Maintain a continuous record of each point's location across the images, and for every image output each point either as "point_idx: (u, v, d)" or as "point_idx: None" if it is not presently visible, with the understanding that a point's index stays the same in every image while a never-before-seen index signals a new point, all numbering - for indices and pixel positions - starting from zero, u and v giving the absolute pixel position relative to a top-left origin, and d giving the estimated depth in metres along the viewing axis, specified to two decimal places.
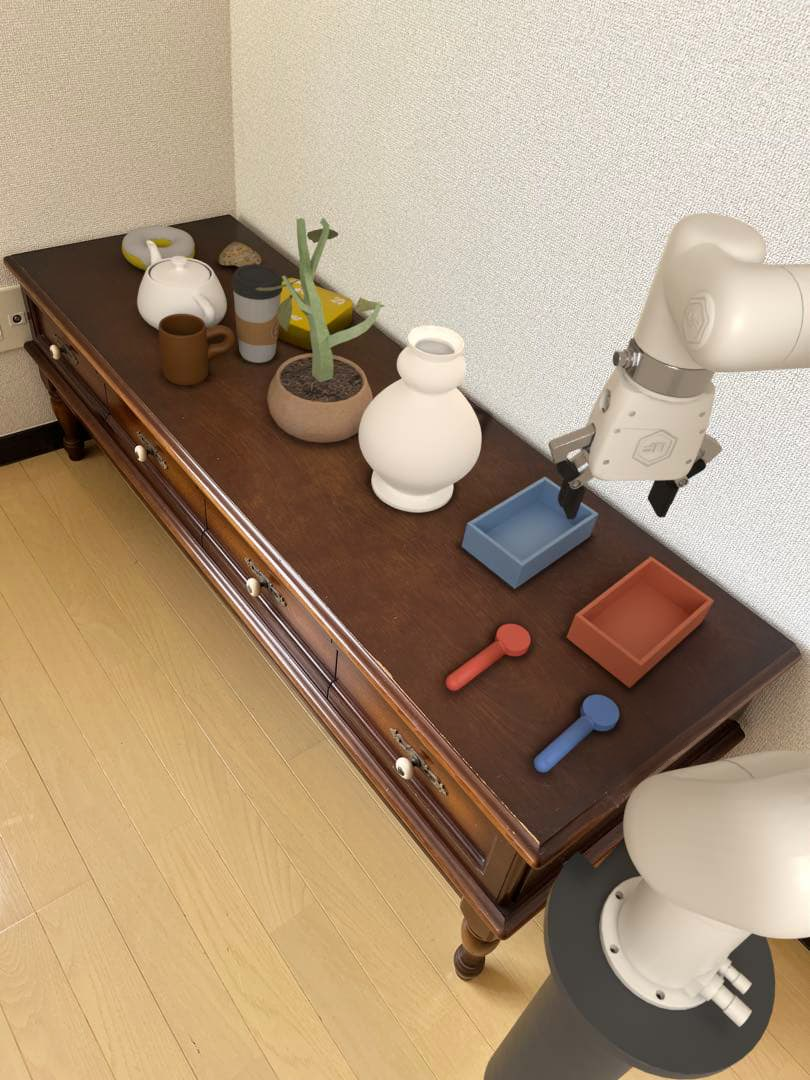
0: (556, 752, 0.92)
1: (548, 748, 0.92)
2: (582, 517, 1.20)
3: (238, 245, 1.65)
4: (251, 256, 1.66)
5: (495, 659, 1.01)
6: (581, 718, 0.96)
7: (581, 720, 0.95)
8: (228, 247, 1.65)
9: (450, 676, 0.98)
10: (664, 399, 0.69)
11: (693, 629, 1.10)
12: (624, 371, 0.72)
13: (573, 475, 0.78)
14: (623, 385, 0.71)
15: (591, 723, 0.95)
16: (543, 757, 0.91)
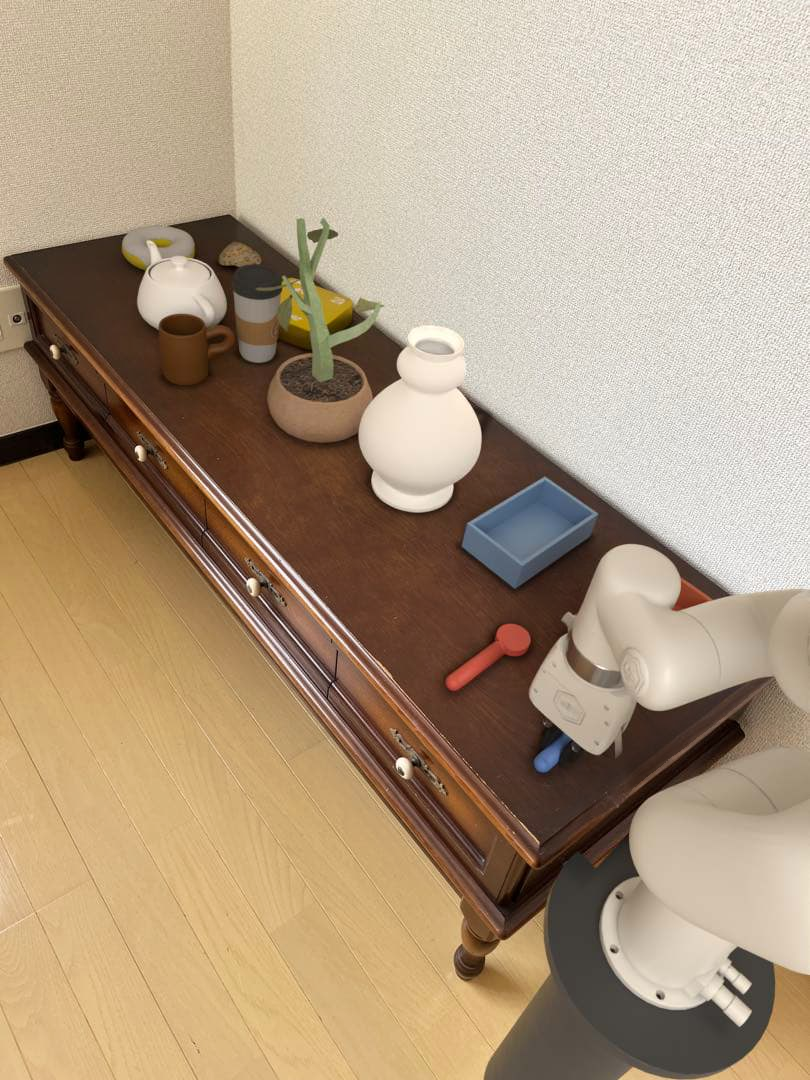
0: (556, 752, 0.92)
1: (548, 748, 0.92)
2: (582, 517, 1.20)
3: (237, 245, 1.65)
4: (251, 256, 1.66)
5: (495, 659, 1.01)
6: None
7: None
8: (228, 247, 1.65)
9: (450, 676, 0.98)
10: (568, 668, 0.81)
11: None
12: None
13: None
14: (559, 639, 0.83)
15: None
16: (543, 757, 0.91)
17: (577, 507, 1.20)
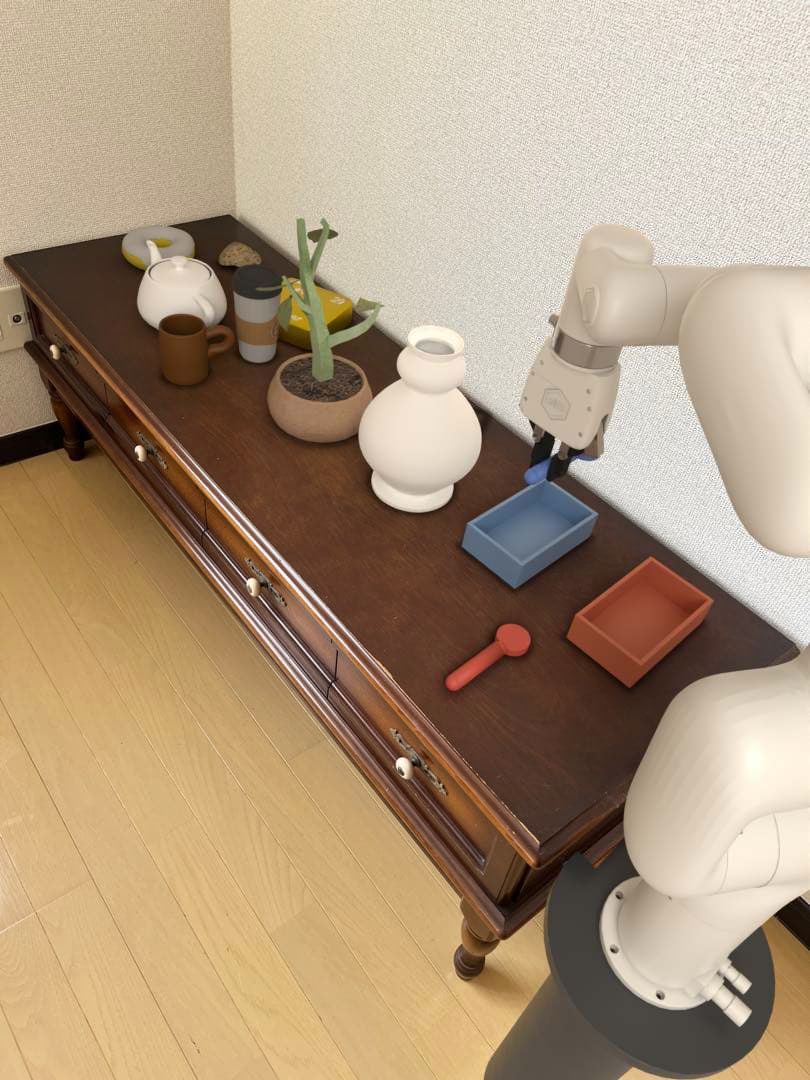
0: (545, 467, 1.01)
1: (537, 464, 1.01)
2: (582, 517, 1.20)
3: (238, 245, 1.65)
4: (251, 256, 1.66)
5: (495, 659, 1.01)
6: None
7: None
8: (228, 247, 1.65)
9: (450, 676, 0.98)
10: (554, 356, 0.89)
11: (693, 629, 1.10)
12: None
13: None
14: (547, 339, 0.92)
15: None
16: (532, 469, 1.00)
17: (577, 507, 1.20)
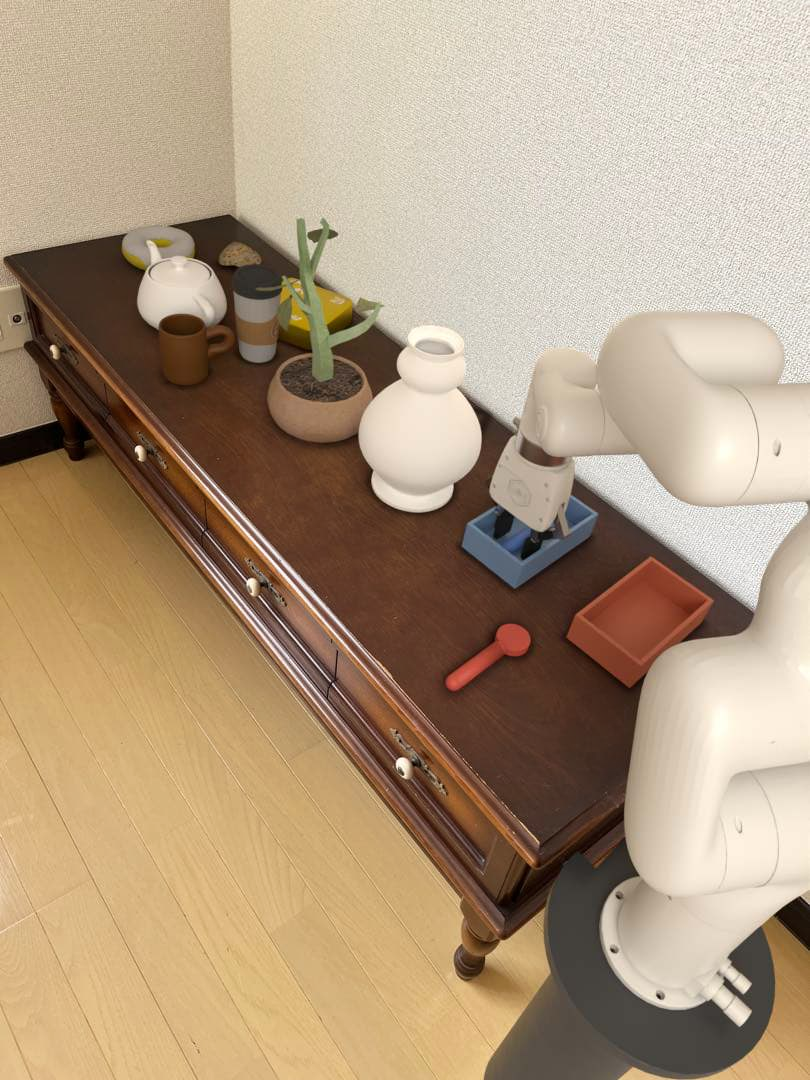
0: (512, 543, 1.14)
1: (506, 541, 1.15)
2: (582, 517, 1.20)
3: (238, 245, 1.65)
4: (251, 256, 1.66)
5: (495, 659, 1.01)
6: None
7: None
8: (228, 247, 1.65)
9: (450, 676, 0.98)
10: (517, 454, 1.03)
11: (693, 629, 1.10)
12: None
13: None
14: (511, 437, 1.06)
15: None
16: None
17: (577, 507, 1.20)
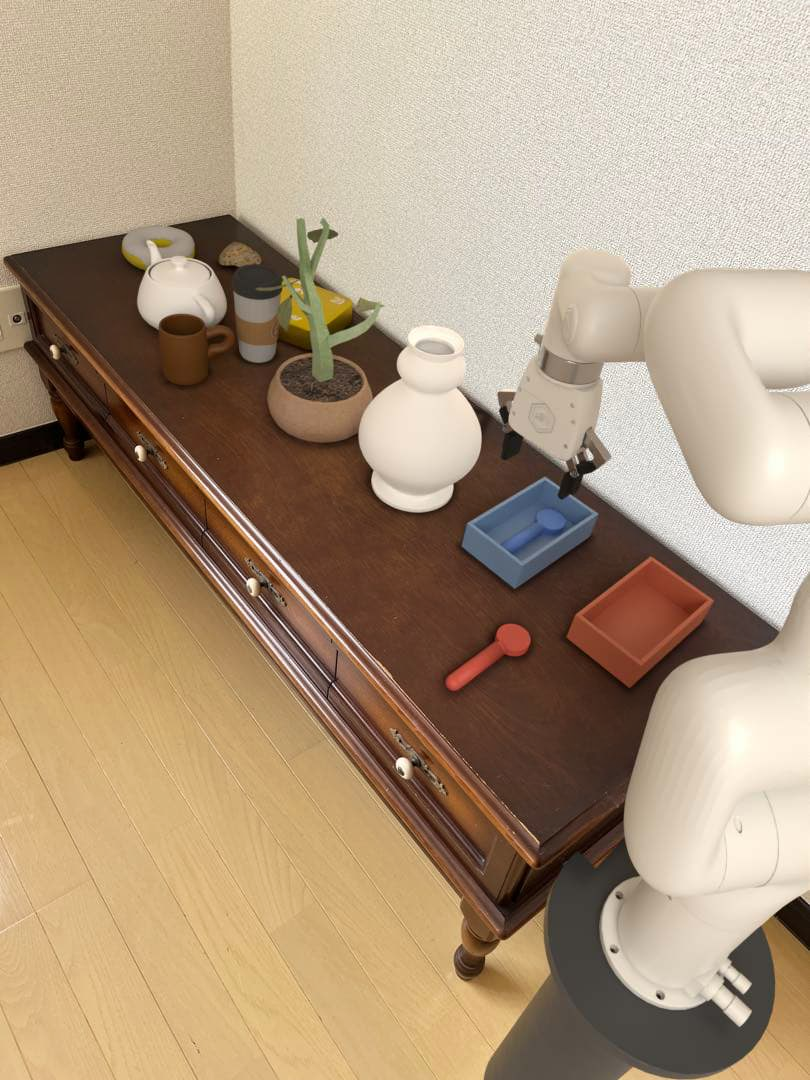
0: (512, 543, 1.14)
1: (506, 541, 1.15)
2: (582, 517, 1.20)
3: (238, 245, 1.65)
4: (251, 256, 1.66)
5: (495, 659, 1.01)
6: (534, 523, 1.18)
7: (534, 524, 1.18)
8: (228, 247, 1.65)
9: (450, 676, 0.98)
10: (540, 372, 0.95)
11: (693, 629, 1.10)
12: None
13: (508, 422, 1.05)
14: (533, 357, 0.97)
15: (542, 526, 1.18)
16: None
17: (577, 507, 1.20)
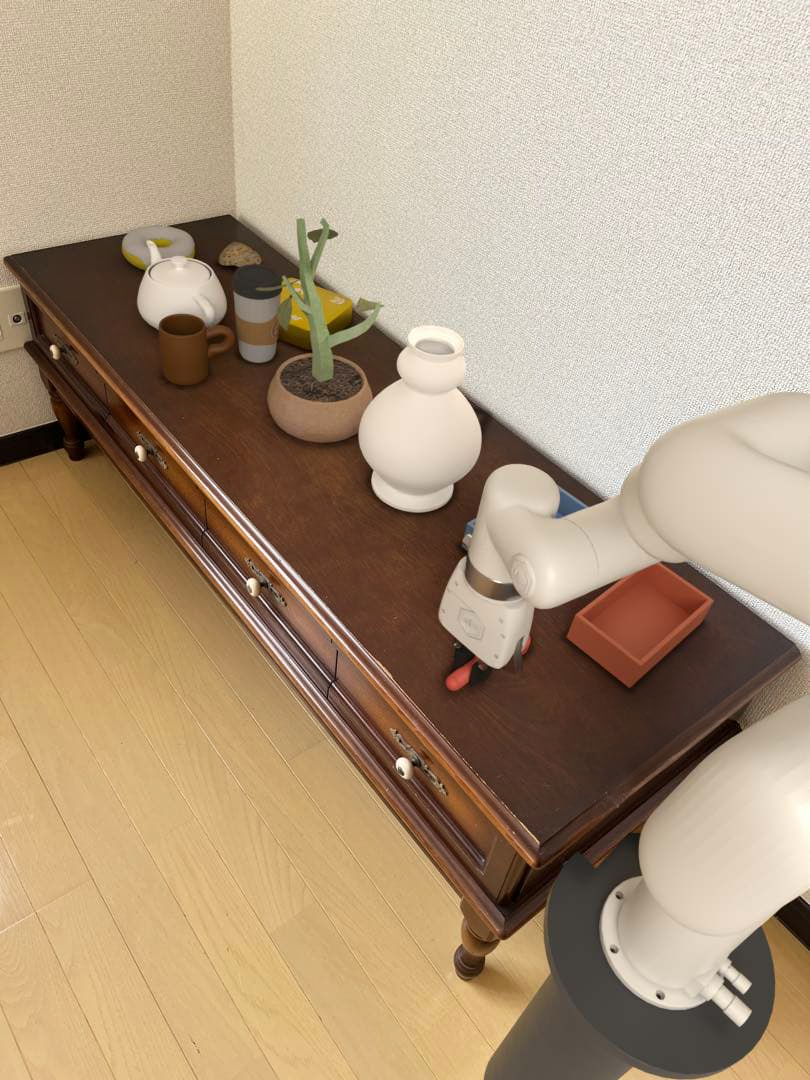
0: None
1: None
2: None
3: (238, 245, 1.65)
4: (251, 256, 1.66)
5: None
6: None
7: None
8: (228, 247, 1.65)
9: (450, 676, 0.98)
10: (466, 583, 0.87)
11: (693, 629, 1.10)
12: None
13: None
14: (461, 560, 0.90)
15: None
16: None
17: (577, 507, 1.20)
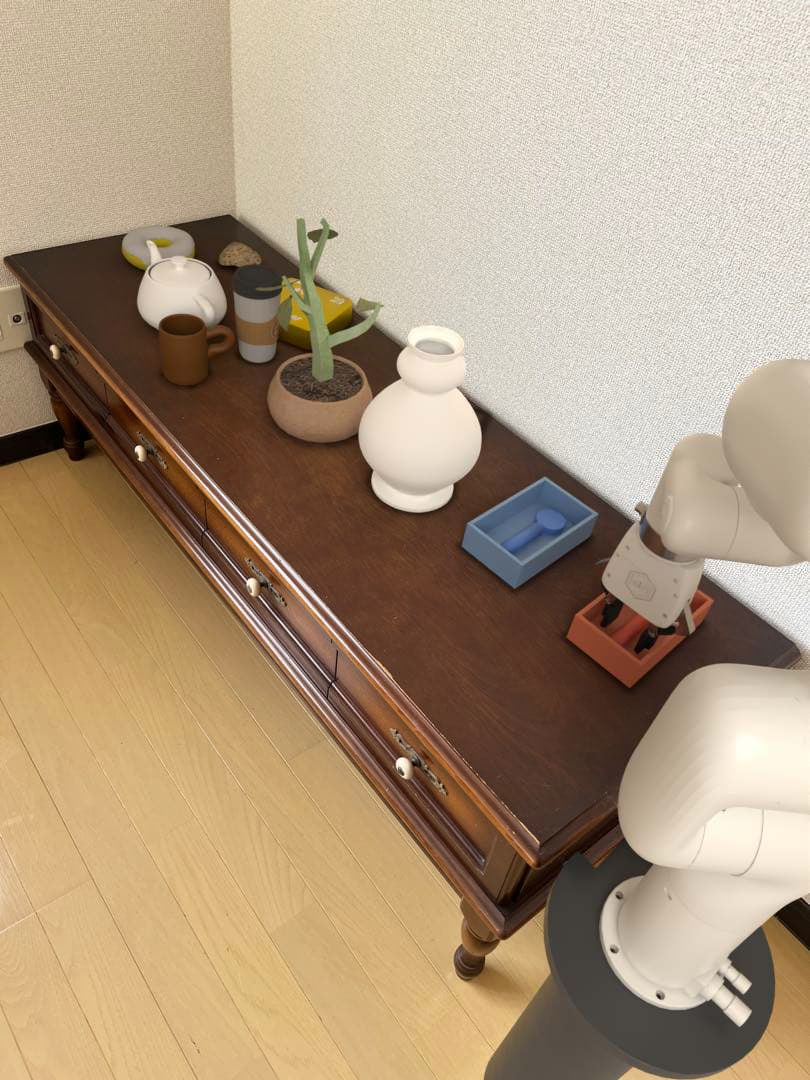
0: (512, 543, 1.14)
1: (506, 541, 1.15)
2: (582, 517, 1.20)
3: (238, 245, 1.65)
4: (251, 256, 1.66)
5: (646, 624, 1.08)
6: (534, 523, 1.18)
7: (534, 524, 1.18)
8: (228, 247, 1.65)
9: None
10: (642, 546, 0.93)
11: None
12: None
13: (608, 593, 1.04)
14: (633, 525, 0.96)
15: (542, 526, 1.18)
16: None
17: (577, 507, 1.20)
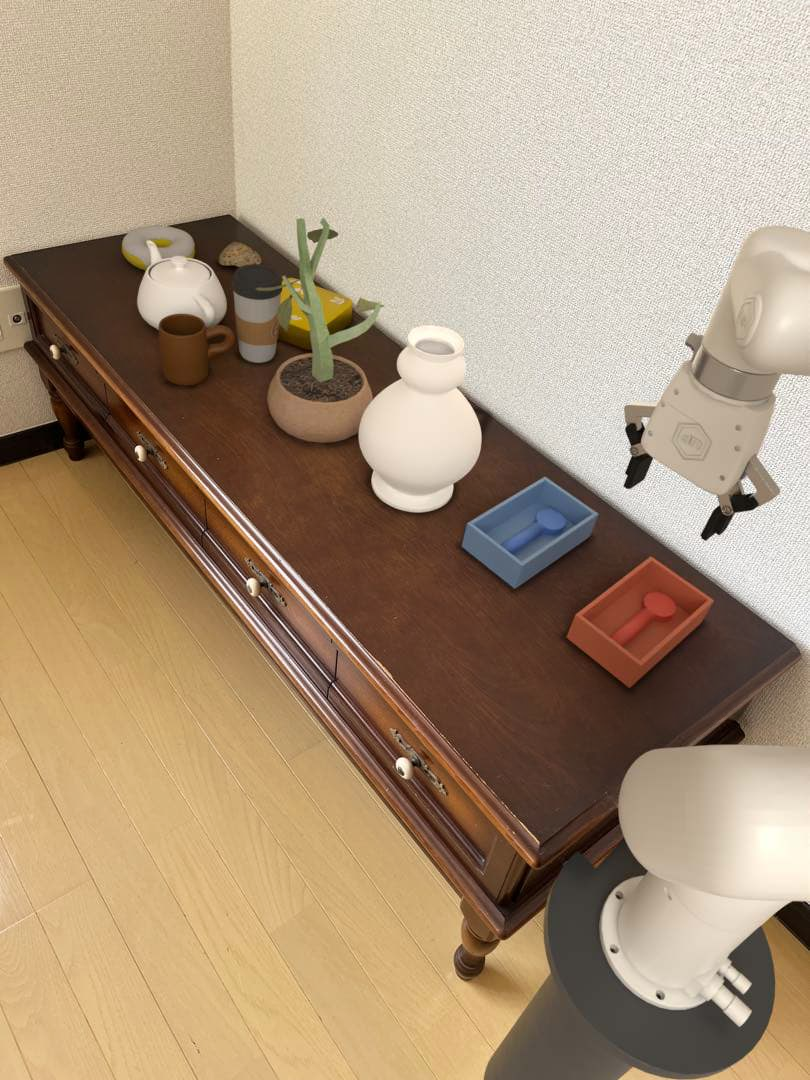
0: (512, 543, 1.14)
1: (506, 541, 1.15)
2: (582, 517, 1.20)
3: (238, 245, 1.65)
4: (251, 256, 1.66)
5: (646, 624, 1.08)
6: (534, 523, 1.18)
7: (534, 524, 1.18)
8: (228, 247, 1.65)
9: None
10: (697, 385, 0.74)
11: (693, 629, 1.10)
12: None
13: (636, 442, 0.85)
14: (683, 364, 0.77)
15: (542, 526, 1.18)
16: None
17: (577, 507, 1.20)
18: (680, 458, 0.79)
